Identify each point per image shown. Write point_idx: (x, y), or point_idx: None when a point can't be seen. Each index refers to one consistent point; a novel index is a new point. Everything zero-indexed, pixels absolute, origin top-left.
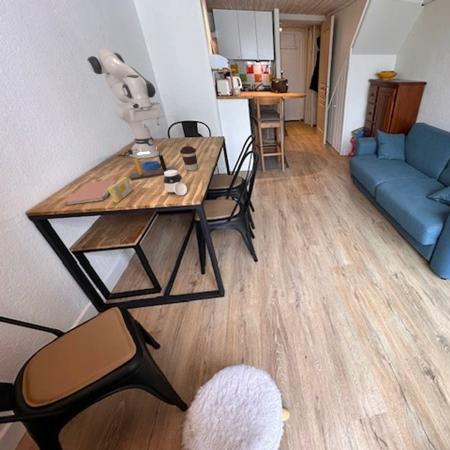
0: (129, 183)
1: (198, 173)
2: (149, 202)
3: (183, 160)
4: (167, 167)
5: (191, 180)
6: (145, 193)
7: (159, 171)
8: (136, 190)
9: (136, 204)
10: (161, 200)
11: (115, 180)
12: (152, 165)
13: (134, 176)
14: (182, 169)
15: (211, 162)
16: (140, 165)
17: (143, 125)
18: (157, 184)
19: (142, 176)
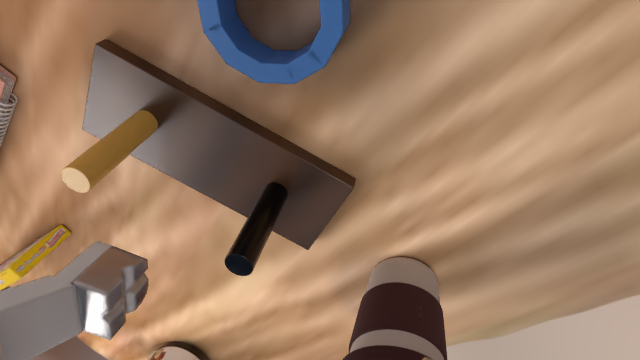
0: (43, 258)
1: None
2: (95, 335)
3: (362, 310)
4: (318, 169)
5: (282, 348)
6: None
7: (240, 184)
8: (83, 242)
9: None
10: (126, 353)
11: (4, 88)
12: (254, 77)
13: (102, 125)
14: (371, 235)
15: (577, 305)
16: (123, 159)
17: (72, 322)
18: (167, 267)
19: (140, 158)
